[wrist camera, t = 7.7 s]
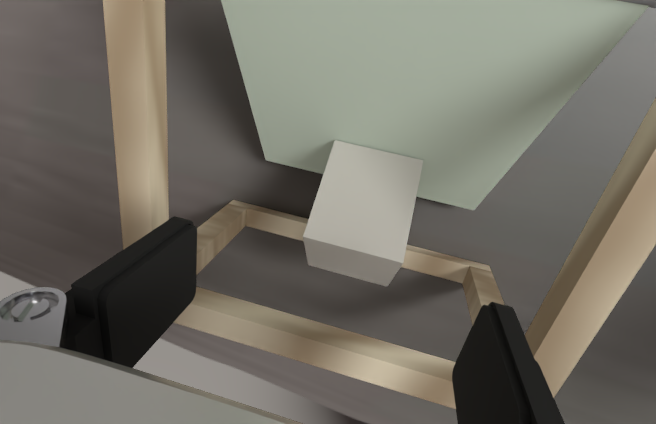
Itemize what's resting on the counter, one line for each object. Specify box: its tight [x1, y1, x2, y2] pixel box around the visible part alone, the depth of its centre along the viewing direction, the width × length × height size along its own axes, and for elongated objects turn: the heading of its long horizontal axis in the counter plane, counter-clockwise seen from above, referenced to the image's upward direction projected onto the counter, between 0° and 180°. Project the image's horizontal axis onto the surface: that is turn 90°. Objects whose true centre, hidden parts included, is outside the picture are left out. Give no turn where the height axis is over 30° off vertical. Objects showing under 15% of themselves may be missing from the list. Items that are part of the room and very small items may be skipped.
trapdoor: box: [221, 0, 656, 210], centre depth 17 cm, size 16×15×1 cm
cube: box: [303, 140, 423, 287], centre depth 21 cm, size 5×5×6 cm
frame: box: [103, 0, 656, 409], centre depth 18 cm, size 20×20×12 cm
